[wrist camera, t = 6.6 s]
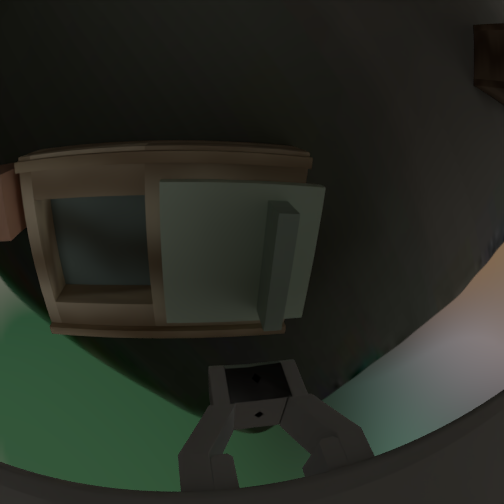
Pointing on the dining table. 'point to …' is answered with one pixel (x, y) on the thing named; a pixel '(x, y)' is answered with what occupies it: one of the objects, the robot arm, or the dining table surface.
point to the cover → (237, 249)
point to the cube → (10, 203)
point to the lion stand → (489, 59)
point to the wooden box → (127, 228)
